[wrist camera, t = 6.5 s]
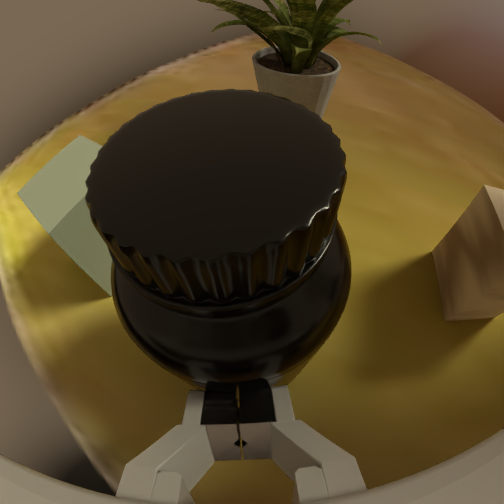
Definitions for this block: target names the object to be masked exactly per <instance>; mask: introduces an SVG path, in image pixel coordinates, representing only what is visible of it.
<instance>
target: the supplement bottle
mask: <svg viewBox="0 0 504 504" xmlns="http://www.w3.org/2000/svg"><path fill="white" fill-rule="evenodd" d="M345 163H346V155H345V153H344V151H343V150H342V149H341V148H340V139H339V138H338V137H337V136H336V135H335V134H334V133H333V132H332V128H331V126H330V125H329V124H327V123H326V122H324V121H323V120H322V119H321V117H320V116H319V115H318V114H316V113H314V112H312V111H309V110H308V109H307V108H306V107H305V106H304V105H301V104H298V103H295V102H292V101H291V100H289V99H287V98H284V97H279V96H275V95H273V94H270V93H264V92H256V91H253V90H236V89H226V90H209V91H205V92H198V93H191V94H188V95H185V96H182V97H177V98H173V99H171V100H168V101H166V102H164V103H160V104H157V105H155V106H153V107H152V108H150V109H149V110H146V111H144V112H142V113H140V114H138V115H137V116H135V117H134V118H133V119H132V120H130V121H128V122H127V123H125V124H123V125H122V126H121V128H120V129H119V130H118V131H117V132H115V133H114V134H113V135H111V136H110V137H109V139H108V141H107V143H106V144H105V145H104V146H103V147H102V148H101V149H100V150H99V151H98V154H97V158H96V159H95V160H94V161H93V163H92V164H91V165H90V171H91V172H90V174H89V176H88V177H87V179H86V181H85V183H86V187H87V193H86V196H85V202H86V205H87V207H88V209H89V211H90V218H91V221H92V223H93V225H94V227H95V228H96V230H97V231H98V233H99V234H100V236H101V237H102V239H103V240H104V242H105V243H106V245H107V247H108V250H109V253H110V256H111V258H112V263H111V290H112V297H113V301H114V305H115V308H116V311H117V314H118V317H119V319H120V321H121V323H122V325H123V327H124V329H125V330H126V332H127V333H128V335H129V336H130V338H131V339H132V340H133V342H134V343H135V344H136V345H137V346H138V347H139V348H140V349H141V350H142V351H143V352H144V353H145V354H146V355H147V356H148V357H149V358H150V359H151V360H153V361H154V362H155V363H157V364H158V365H159V366H161V367H162V368H164V369H165V370H167V371H168V372H170V373H172V374H173V375H175V376H177V377H179V378H180V379H182V380H184V381H185V382H187V383H189V384H191V385H193V386H194V387H196V388H198V389H200V390H209V391H216V392H226V393H237V394H238V402H239V393H241V392H250V391H256V390H260V389H264V388H269V387H270V388H271V387H274V386H283V385H288V384H289V383H290V382H291V381H292V380H294V378H295V377H296V376H297V375H298V374H299V373H300V372H301V370H302V369H303V368H304V367H305V366H306V365H307V363H308V362H309V361H310V360H311V359H312V357H313V356H314V355H315V354H316V353H317V351H318V350H319V349H320V348H321V346H322V345H323V344H324V343H325V341H326V340H327V339H328V338H329V336H330V335H331V333H332V332H333V330H334V328H335V327H336V325H337V323H338V321H339V319H340V317H341V315H342V313H343V311H344V309H345V306H346V303H347V300H348V296H349V291H350V285H351V258H350V252H349V247H348V244H347V240H346V237H345V235H344V232H343V230H342V227H341V226H340V224H339V222H338V220H337V212H338V209H339V205H340V202H341V197H342V194H343V191H344V187H345V184H346V178H347V172H346V169H345Z"/></svg>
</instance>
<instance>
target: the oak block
mask: <svg viewBox="0 0 504 504" xmlns="http://www.w3.org/2000/svg"><path fill="white" fill-rule="evenodd" d="M432 254H433V259H434V263H435V268H436V273H437V278H438V283H439V288H440V294H441V300H442V307H443V313H444V321H454V320H470V319H483V318H495V317H496V316H498V315H500V314H501V313H503V312H504V190H502V189H498V188H495V187H491V186H487V185H483V187H482V188H481V190H480V191H479V193H478V194H477V195H476V197H475V198H474V199H473V201H472V202H471V204H470V205H469V206H468V208H467V209H466V210H465V211H464V213H463V214H462V215H461V217H460V218H459V219H458V221H457V222H456V223H455V224H454V226H453V227H452V228H451V229H450V231H449V232H448V233H447V234H446V235H445V237H444V238H443V239H442V240H441V241H440V243H439V244H438V245H437V246H436V247H435V248H434V250H433V251H432Z"/></svg>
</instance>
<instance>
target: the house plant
mask: <svg viewBox="0 0 504 504" xmlns="http://www.w3.org/2000/svg"><path fill="white" fill-rule="evenodd" d="M198 1H200V2H206V3H212V4H214V5H216V6H218V7H220V8H222V9H224V10H222V11H226V12H229V13H231V14H233V15H235V16H236V17H237V18H239V19H240V20H233V21H226V22H224V23H221V24H219V25H218V26H216V27H215V28H214V29H213V30H212V32H213V31H214V30H216V29H218V28H221V27H225V26H229V25H237V24H241V25H246V26H248V27H249V28H250V29H251V30H252V31H254V32H255V33H256V34H258V35H259V36H260V37H261V38H262V39H264V40H265V41H266V42H267V43H268V44H269V45H270V46H271V47H268V48H264V49H261V50H259V51H257V52H256V53H255V54H254V55H253V57H252V60H253V65H254V70H255V75H256V79H257V84H258V89H259V92H264V93H270V94H273V95H275V96H279V97H284V98H287V99H289V100H291V101H292V102H295V103H298V104H301V105H304V106H305V107H306V108H307V109H308V110H309V111H312V112H314V113H316V114H318V115H319V116H320V117H321V119H322V116H323V114H324V111H325V109H326V106H327V103H328V101H329V98H330V95H331V93H332V90H333V88H334V85H335V82H336V80H337V77H338V74H339V72H340V69H341V65H340V63H339V61H338V60H337V59H336V58H334V57H333V56H331V55H329V54H327V53H325V52H323V51H321V50H322V49H323V48H324V47H325V46H326V45H327V44H329V43H330V42H331V41H332V40H334V39H336V38H338V37H340V36H345V35H352V34H361V35H366V36H369V37H372V38H374V39H376V40H378V39H377V38H376V37H375V36H372V35H369V34H365V33H360V32H347V31H345V30H343V29H341V28H338V27H335V26H336V25H337V24H339V23H341V22H344V21H346V22H348V23H349V25H350V21H349V20H346V19H340V18H337V17H335V16H336V15H337V14H338V13H339V12H340V10H342V9H343V8H344V7H345V6H346V5H348V4H349V3H350V2H351V1H353V0H323V1H322V3H321V4H320V6H319V8H318V11H317V10H316V5H315V1H316V0H287V3H288V6H289V9H290V14H291V16H290V14H289V12H288V11H289V10H288V6H287V5H286V4H285V2H284V1H282V0H275V2H276V3H277V4H278V5H279V10H276V8H275V7H274V6H273V5H272V3H271V2H270V1H269V0H263V1H264V2H265V3H266V4H267V5H268V7H269V8H270V9H271V11H270V13H273V14H274V15H275V16H276V18H277V19H278V21H279V23H280V24H279V23H278V22H277V21H276V20H274V19H273V18H272V17H271V16H269V15H268V14H267V13H268V12H269V11H262V10H259V9H257V8H255V7H252V6H250V5H247V4H243V3H240V2H236V1H232V0H198ZM332 2H333V3H332ZM244 18H245V19H244ZM246 19H247V20H246ZM258 27H259V28H260V29H261V30H260V29H259V28H258ZM260 32H261V33H262V34H263V35H262V34H261V33H260ZM264 35H265V36H266V37H267V38H268V39H267V38H266V37H265V36H264ZM270 39H271V40H272V41H273V42H274V43H275V44H276V45H277V46H275V45H274V44H273V42H272V41H271V40H270ZM378 41H379V40H378Z"/></svg>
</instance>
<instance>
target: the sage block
mask: <svg viewBox="0 0 504 504" xmlns="http://www.w3.org/2000/svg"><path fill="white" fill-rule="evenodd" d="M102 147H103V146H101V145H99V144H97V143H95V142H93V141H91V140H89V139H87V138H85V137H83V136H81V135H79V136H78V137H77V138H75V139H74V140H73V141H72V142H71V143H69V144H68V145H67V146H66V147H65V148H64V149H62V150H61V151H60V152H59V153H58V154H57V155H56V156H55V157H53V158H52V159H51V160H50V161H49V162H48V163H47V164H46V165H45V166H44V167H43V168H42V169H41V170H39V171H38V172H37V173H36V174H35V175H34V176H33V177H32V178H31V179H30V180H29V181H28V182H27V183H26V184H25V185H24V187H23V188H22V189H21V190H20V191H19V192H18V193H17V194H18V195H19V197H20V198H21V199H22V201H23V202H24V203H25V205H26V206H27V207H28V209H29V210H30V211H31V213H32V214H33V215H34V217H35V218H36V219H37V220H38V222H39V223H40V224H41V225H42V227H43V228H44V229H45V230H46V232H47V233H48V234H49V235H50V236H51V237H52V238H53V239H54V241H55V242H56V243H57V244H58V245H59V246H60V247H61V248H62V249H63V250H64V251H65V252H66V253H67V254H68V255H69V256H70V257H71V258H72V259H73V260H74V261H75V263H76V264H77V265H78V266H79V267H80V268H81V269H83V270H84V271H85V272H86V273H87V274H88V275H89V276H90V277H91V278H92V279H93V280H94V281H95V282H96V283H97V284H98V285H99V286H100V287H101V288H102V289H103V290H105V291H106V292H107V293H108V294H109V295H110V296H111V297H112V290H111V263H112V258H111V256H110V253H109V250H108V247H107V245H106V243H105V242H104V240H103V239H102V237H101V236H100V234H99V233H98V231H97V230H96V228H95V227H94V225H93V223H92V221H91V218H90V211H89V209H88V207H87V205H86V202H85V196H86V193H87V187H86V183H85V181H86V179H87V177H88V176H89V174H90V172H91V171H90V165H91V164H92V163H93V161H94V160H95V159H96V158H97V154H98V151H99V150H100V149H101V148H102Z"/></svg>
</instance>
